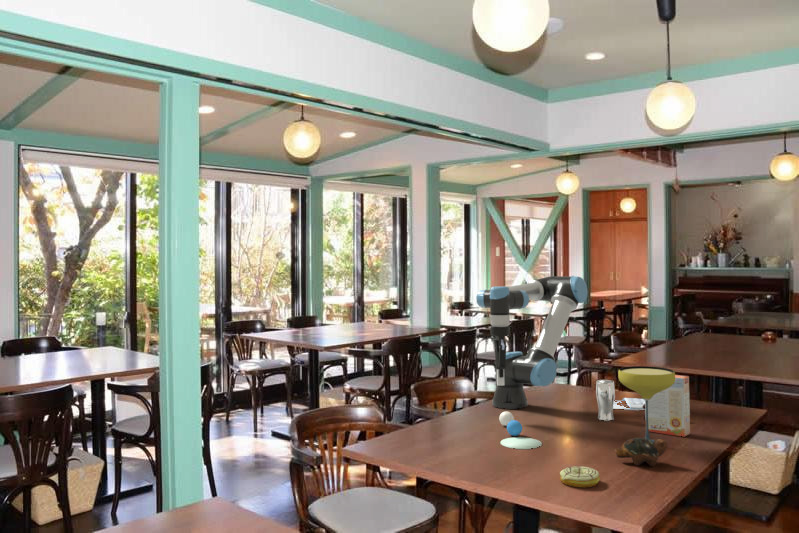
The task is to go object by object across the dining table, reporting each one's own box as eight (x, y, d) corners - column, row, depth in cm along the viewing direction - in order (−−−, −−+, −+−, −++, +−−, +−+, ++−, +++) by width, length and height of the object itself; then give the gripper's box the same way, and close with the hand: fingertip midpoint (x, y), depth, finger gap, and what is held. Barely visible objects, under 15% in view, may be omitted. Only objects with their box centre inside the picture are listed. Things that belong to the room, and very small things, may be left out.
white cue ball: (496, 425, 249) (496, 411, 249) (507, 423, 252) (506, 409, 252) (506, 428, 245) (505, 413, 244) (517, 426, 247) (516, 411, 247)
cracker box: (690, 434, 232) (689, 375, 232) (684, 437, 227) (683, 378, 227) (651, 428, 241) (650, 371, 241) (645, 431, 237) (644, 373, 237)
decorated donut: (561, 475, 191) (561, 462, 191) (600, 478, 188) (599, 465, 188) (558, 487, 181) (558, 473, 181) (599, 491, 178) (598, 477, 178)
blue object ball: (503, 435, 235) (503, 420, 235) (515, 432, 238) (514, 417, 238) (514, 438, 231) (513, 423, 231) (525, 436, 233) (525, 420, 233)
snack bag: (657, 412, 268) (656, 407, 268) (605, 411, 272) (605, 406, 272) (648, 402, 286) (648, 397, 286) (601, 401, 290) (600, 396, 290)
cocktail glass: (671, 454, 208) (670, 376, 208) (613, 447, 218) (612, 372, 217) (680, 441, 223) (679, 368, 223) (626, 434, 233) (625, 364, 233)
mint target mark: (492, 442, 226) (492, 441, 226) (522, 435, 234) (522, 435, 234) (519, 451, 215) (519, 451, 215) (550, 444, 222) (550, 444, 222)
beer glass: (613, 417, 258) (612, 379, 258) (617, 421, 251) (616, 382, 251) (595, 417, 259) (594, 379, 259) (598, 421, 252) (597, 382, 252)
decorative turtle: (672, 469, 194) (670, 442, 194) (619, 470, 197) (617, 444, 196) (664, 457, 204) (662, 432, 203) (614, 459, 206) (612, 434, 206)
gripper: (487, 324, 264) (488, 382, 264) (493, 327, 251) (494, 388, 251) (505, 323, 264) (506, 382, 264) (512, 326, 251) (513, 388, 251)
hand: (500, 385), depth 257 cm, fingers closed
